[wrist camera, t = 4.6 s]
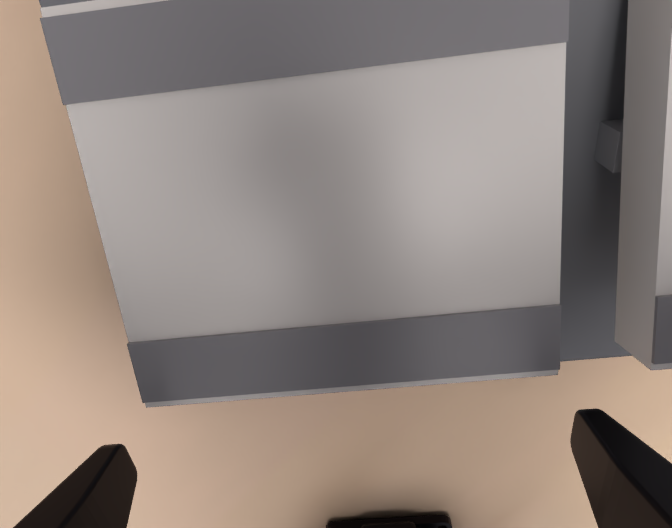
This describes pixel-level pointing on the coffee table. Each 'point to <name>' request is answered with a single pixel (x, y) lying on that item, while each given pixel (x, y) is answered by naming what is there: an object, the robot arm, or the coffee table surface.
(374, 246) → the rocker
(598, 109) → the switch unit
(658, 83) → the grey flat slab
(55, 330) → the coffee table surface
